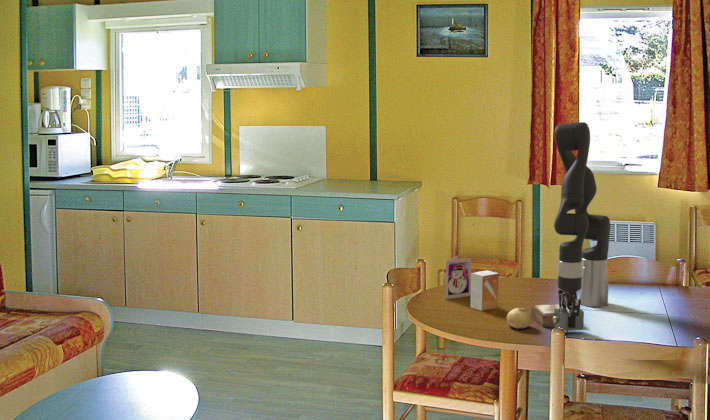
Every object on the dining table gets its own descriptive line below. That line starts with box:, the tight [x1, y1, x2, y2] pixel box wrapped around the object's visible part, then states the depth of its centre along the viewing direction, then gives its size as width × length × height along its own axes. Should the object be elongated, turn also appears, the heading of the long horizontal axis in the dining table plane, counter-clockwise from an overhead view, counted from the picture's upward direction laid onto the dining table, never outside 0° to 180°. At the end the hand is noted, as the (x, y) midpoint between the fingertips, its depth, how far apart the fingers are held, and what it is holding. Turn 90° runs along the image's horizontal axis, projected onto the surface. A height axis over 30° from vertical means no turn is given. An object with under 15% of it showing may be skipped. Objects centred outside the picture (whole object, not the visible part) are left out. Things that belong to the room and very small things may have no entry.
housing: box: [552, 308, 585, 331], centre depth 261 cm, size 9×5×6 cm, turn 96°
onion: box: [505, 306, 532, 330], centre depth 268 cm, size 8×8×7 cm
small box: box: [470, 269, 500, 312], centre depth 291 cm, size 8×6×13 cm
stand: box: [530, 303, 559, 328], centre depth 274 cm, size 12×12×4 cm
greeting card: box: [445, 255, 472, 300], centre depth 308 cm, size 11×7×15 cm, turn 115°
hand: (568, 324), depth 262 cm, fingers closed on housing, 5 cm apart
